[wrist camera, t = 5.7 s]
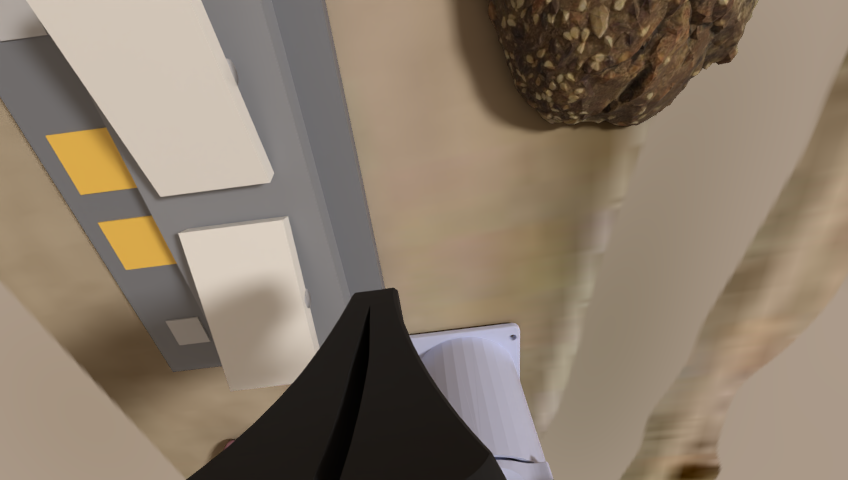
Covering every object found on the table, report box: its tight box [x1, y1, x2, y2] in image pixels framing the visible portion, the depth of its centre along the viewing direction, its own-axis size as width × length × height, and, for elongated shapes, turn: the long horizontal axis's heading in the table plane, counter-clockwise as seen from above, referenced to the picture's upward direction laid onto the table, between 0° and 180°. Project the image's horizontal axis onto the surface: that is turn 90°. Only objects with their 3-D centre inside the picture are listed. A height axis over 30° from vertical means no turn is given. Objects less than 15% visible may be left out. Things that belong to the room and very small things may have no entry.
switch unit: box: [0, 0, 385, 372], centre depth 20 cm, size 24×15×2 cm, turn 7°
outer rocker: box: [26, 0, 274, 197], centre depth 15 cm, size 9×5×1 cm, turn 8°
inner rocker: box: [178, 216, 319, 391], centre depth 20 cm, size 9×5×1 cm, turn 6°
